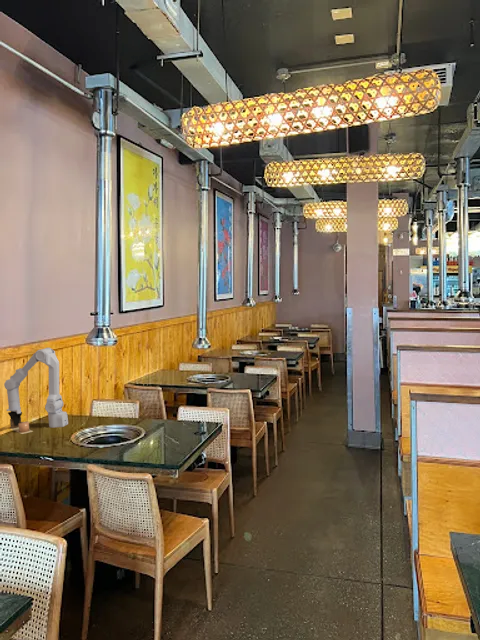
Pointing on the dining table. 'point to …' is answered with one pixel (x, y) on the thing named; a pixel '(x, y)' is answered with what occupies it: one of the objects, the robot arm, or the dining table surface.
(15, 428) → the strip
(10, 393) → the robot arm
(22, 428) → the tan round lump
